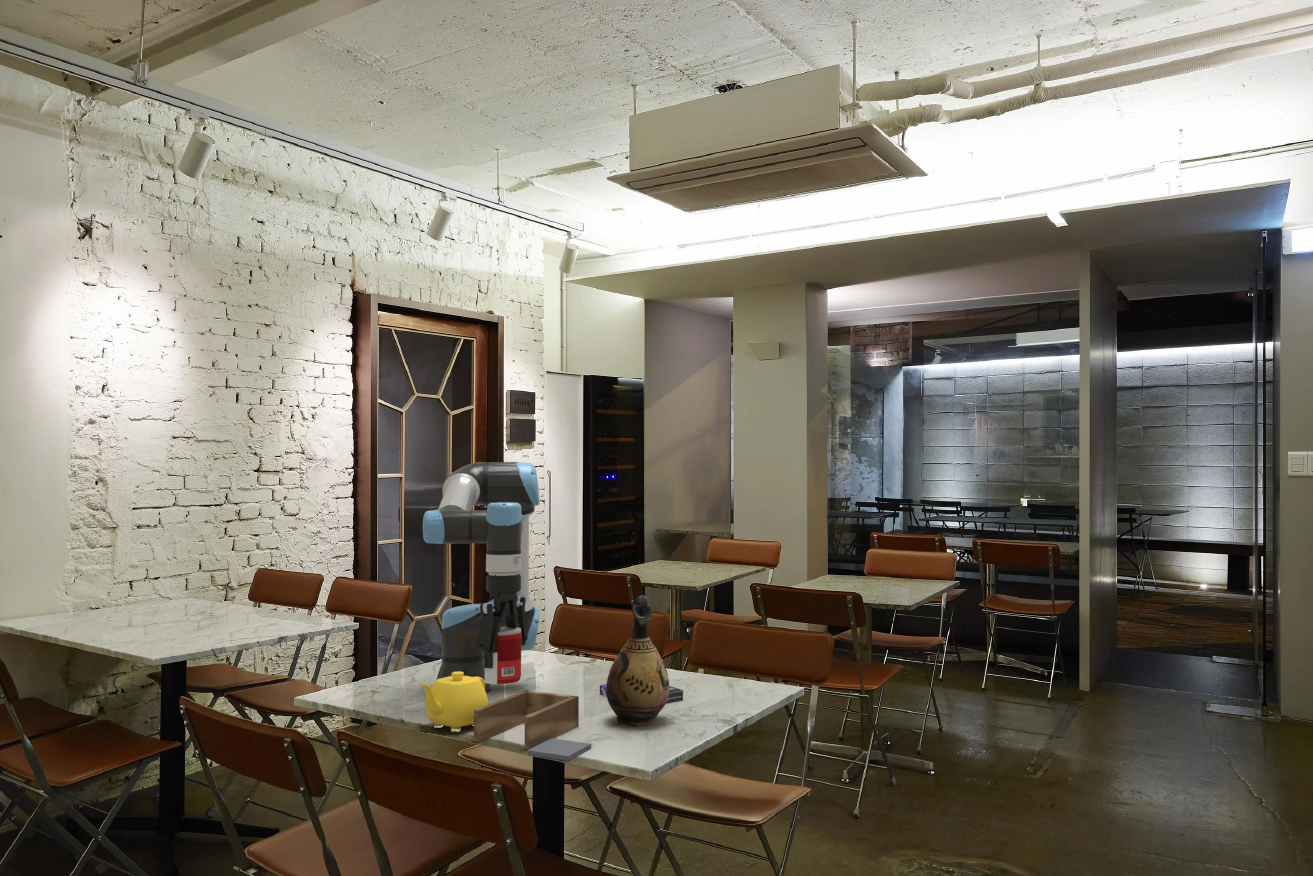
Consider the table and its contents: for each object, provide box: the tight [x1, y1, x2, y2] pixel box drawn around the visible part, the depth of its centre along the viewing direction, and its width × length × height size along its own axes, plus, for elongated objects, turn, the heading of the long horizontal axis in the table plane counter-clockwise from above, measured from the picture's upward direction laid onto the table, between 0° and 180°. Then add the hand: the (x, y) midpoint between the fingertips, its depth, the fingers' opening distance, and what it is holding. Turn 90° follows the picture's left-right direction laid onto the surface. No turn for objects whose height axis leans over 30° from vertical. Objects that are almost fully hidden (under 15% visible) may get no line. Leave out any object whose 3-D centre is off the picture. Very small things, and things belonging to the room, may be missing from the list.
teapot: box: [419, 672, 489, 730], centre depth 217 cm, size 14×20×13 cm
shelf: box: [472, 690, 580, 750], centre depth 212 cm, size 15×21×7 cm
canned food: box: [490, 627, 522, 685], centre depth 199 cm, size 8×8×11 cm
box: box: [599, 683, 684, 705], centre depth 247 cm, size 14×4×20 cm
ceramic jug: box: [605, 594, 670, 728], centre depth 224 cm, size 17×15×30 cm
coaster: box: [526, 738, 592, 762], centre depth 198 cm, size 10×10×1 cm
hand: (502, 679), depth 198 cm, fingers closed on canned food, 8 cm apart
